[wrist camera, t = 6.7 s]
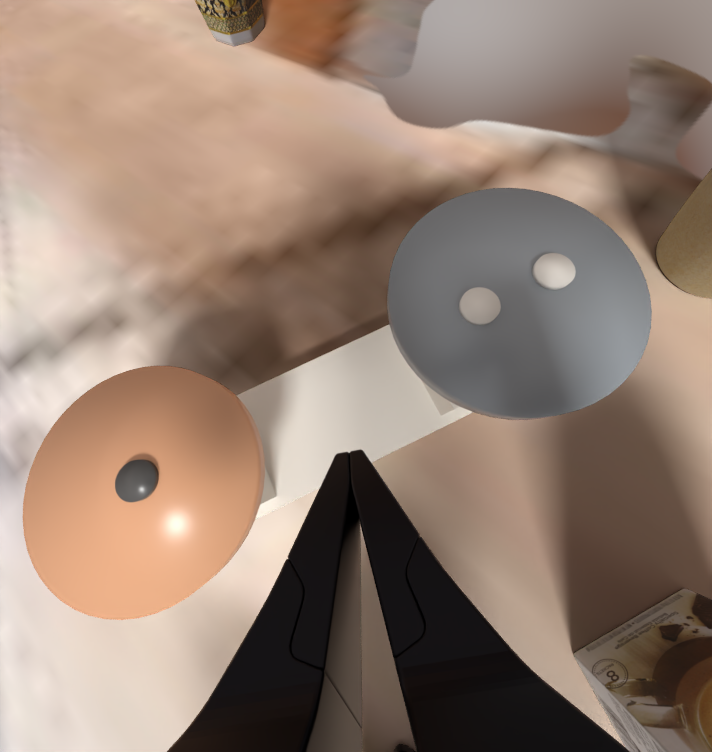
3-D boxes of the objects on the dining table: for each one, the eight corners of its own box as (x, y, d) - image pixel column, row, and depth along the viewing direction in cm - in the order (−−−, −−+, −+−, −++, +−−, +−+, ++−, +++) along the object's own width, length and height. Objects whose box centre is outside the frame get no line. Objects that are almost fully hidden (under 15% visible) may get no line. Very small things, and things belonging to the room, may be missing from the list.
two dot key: (501, 235, 21) (553, 150, 15) (604, 377, 18) (719, 341, 12) (354, 302, 21) (347, 240, 15) (437, 460, 18) (472, 466, 12)
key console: (495, 281, 25) (524, 242, 21) (556, 370, 23) (604, 349, 18) (127, 452, 23) (64, 453, 19) (156, 567, 21) (93, 602, 16)
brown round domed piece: (255, 362, 22) (210, 329, 16) (316, 516, 19) (290, 547, 13) (106, 430, 21) (0, 423, 15) (146, 601, 19) (36, 675, 12)
